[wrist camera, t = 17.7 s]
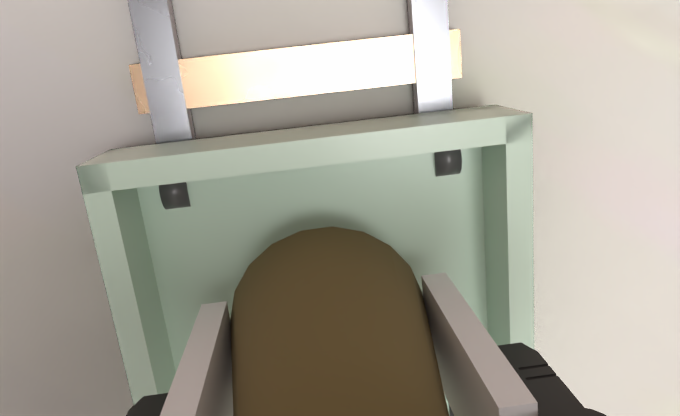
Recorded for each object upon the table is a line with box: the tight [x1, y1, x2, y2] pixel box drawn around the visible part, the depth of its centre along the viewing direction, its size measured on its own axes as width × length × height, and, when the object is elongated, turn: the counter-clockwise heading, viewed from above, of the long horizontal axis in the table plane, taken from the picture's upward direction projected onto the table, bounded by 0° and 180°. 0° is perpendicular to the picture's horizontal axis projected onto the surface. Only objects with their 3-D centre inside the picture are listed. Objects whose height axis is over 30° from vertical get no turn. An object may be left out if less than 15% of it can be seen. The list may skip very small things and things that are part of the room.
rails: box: [128, 0, 462, 144], centre depth 19 cm, size 11×23×1 cm, turn 6°
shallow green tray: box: [76, 105, 534, 416], centre depth 19 cm, size 13×13×3 cm
